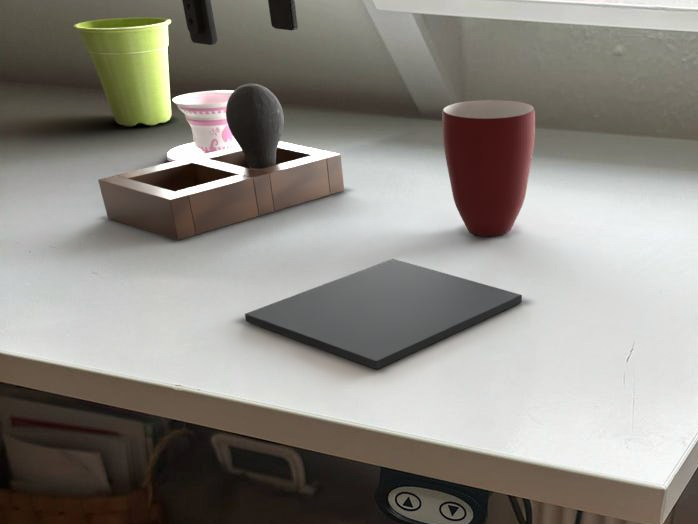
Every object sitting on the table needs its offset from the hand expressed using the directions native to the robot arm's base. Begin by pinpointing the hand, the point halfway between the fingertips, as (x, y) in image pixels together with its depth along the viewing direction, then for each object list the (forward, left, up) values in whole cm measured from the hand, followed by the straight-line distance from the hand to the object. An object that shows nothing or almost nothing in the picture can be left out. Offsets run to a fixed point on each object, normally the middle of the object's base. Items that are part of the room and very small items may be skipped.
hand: (246, 35), depth 89 cm
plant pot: (+13, +41, -14) cm, 45 cm away
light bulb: (0, 0, -14) cm, 14 cm away
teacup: (+7, +17, -14) cm, 23 cm away
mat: (-16, -33, -14) cm, 40 cm away
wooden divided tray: (-5, 0, -14) cm, 15 cm away
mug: (+5, -25, -14) cm, 29 cm away
